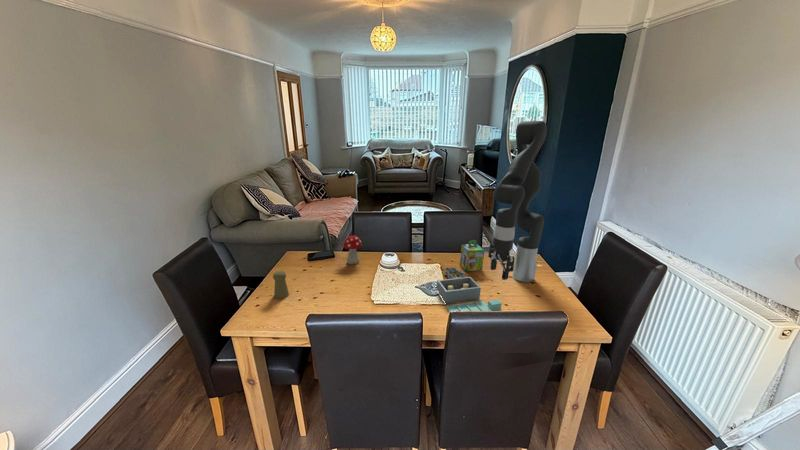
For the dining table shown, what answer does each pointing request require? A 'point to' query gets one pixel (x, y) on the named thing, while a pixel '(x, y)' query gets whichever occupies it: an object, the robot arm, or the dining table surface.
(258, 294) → the dining table surface
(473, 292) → the tub
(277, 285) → the olive pawn figure
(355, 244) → the decorative mushroom
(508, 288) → the dining table surface
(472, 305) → the lid
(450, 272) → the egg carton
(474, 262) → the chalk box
